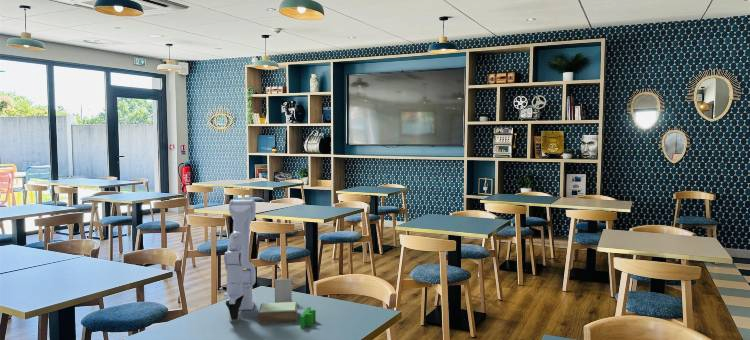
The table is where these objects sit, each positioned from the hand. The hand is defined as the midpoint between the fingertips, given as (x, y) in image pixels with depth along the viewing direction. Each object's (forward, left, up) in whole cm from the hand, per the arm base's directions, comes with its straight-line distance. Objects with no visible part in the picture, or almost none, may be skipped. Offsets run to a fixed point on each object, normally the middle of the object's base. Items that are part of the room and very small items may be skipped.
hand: (235, 317), depth 203 cm
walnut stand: (-1, +16, -1) cm, 16 cm away
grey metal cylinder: (0, 0, -1) cm, 1 cm away
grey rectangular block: (-20, +17, -2) cm, 26 cm away
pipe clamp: (+7, +28, -2) cm, 28 cm away
